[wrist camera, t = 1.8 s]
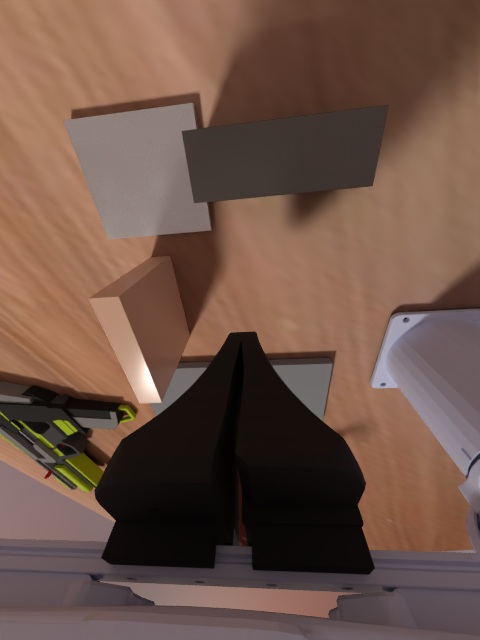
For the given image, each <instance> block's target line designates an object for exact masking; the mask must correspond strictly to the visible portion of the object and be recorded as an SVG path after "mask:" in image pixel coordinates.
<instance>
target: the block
mask: <svg viewBox="0 0 480 640" xmlns="http://www.w3.org/2000/svg"><path fill="white" fill-rule="evenodd" d="M89 301H90V303H91V305H92V307H93V309H94V311H95V313H96V315H97V317H98V319H99V321H100V323H101V325H102V327H103V329H104V331H105V333H106V335H107V337H108V339H109V341H110V344H111V346H112V348H113V350H114V352H115V354H116V356H117V358H118V360H119V362H120V364H121V366H122V368H123V370H124V372H125V374H126V376H127V378H128V380H129V382H130V384H131V387H132V389H133V391H134V393H135V395H136V397H137V399H138V401H139V403H162V401H163V399H164V397H165V394H166V392H167V390H168V387H169V385H170V382H171V380H172V378H173V375H174V373H175V370H176V368H177V366H178V363H179V361H180V359H181V356H182V354H183V351H184V349H185V347H186V344H187V342H188V340H189V337H190V334H189V330H188V326H187V322H186V318H185V313H184V309H183V305H182V301H181V297H180V293H179V289H178V285H177V281H176V277H175V273H174V269H173V265H172V261H171V257H170V256H158V257H151V258H149V259H148V260H146V261H145V262H143V263H142V264H140V265H138V266H137V267H135V268H134V269H132V270H131V271H129V272H128V273H126V274H125V275H123V276H122V277H120V278H119V279H117V280H116V281H114V282H113V283H111V284H110V285H108V286H107V287H105V288H104V289H102V290H101V291H99V292H98V293H96V294H95V295H93V296H92V297H90V298H89Z"/></svg>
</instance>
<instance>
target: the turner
mask: <svg viewBox="0 0 480 640" xmlns="http://www.w3.org/2000/svg"><path fill="white" fill-rule="evenodd" d="M387 110H388V105H384V106H376V107H368V108H360V109H352V110H344V111H336V112H328V113H320V114H312V115H304V116H296V117H288V118H280V119H273V120H265V121H257V122H249V123H241V124H233V125H225V126H217V127H209V128H201V129H198V122H197V115H196V108H195V105H194V104H193V103H187V104H180V105H172V106H165V107H158V108H150V109H143V110H136V111H128V112H121V113H114V114H106V115H99V116H92V117H84V118H77V119H70V120H63V121H64V124H65V126H66V129H67V132H68V134H69V137H70V139H71V142H72V145H73V147H74V150H75V153H76V155H77V158H78V160H79V163H80V166H81V168H82V171H83V174H84V176H85V179H86V182H87V184H88V187H89V189H90V192H91V195H92V197H93V200H94V203H95V205H96V208H97V210H98V213H99V216H100V218H101V221H102V224H103V226H104V229H105V232H106V234H107V237H108V239H118V238H129V237H141V236H153V235H164V234H176V233H188V232H199V231H211V230H212V222H211V215H210V208H209V202H213V201H223V200H234V199H244V198H254V197H265V196H275V195H285V194H296V193H306V192H316V191H327V190H337V189H347V188H358V187H368V186H373V182H374V177H375V171H376V166H377V161H378V156H379V151H380V146H381V141H382V136H383V131H384V125H385V120H386V115H387Z"/></svg>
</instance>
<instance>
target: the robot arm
mask: <svg viewBox="0 0 480 640" xmlns="http://www.w3.org/2000/svg"><path fill="white" fill-rule="evenodd" d="M406 317H407V318H406ZM404 318H406V319H405V320H403V319H404ZM370 384H371V386H372V387H373V388H399V389H400V390H401V391H402V393H403V394H404V395H405V397H406V398H407V399H408V401H409V402H410V403H411V405H412V406H413V407H414V409H415V410H416V411H417V413H418V414H419V415H420V417H421V418H422V420H423V421H424V422H425V424H426V425H427V426H428V428H429V429H430V430H431V432H432V433H433V434H434V436H435V437H436V438H437V440H438V441H439V442H440V444H441V445H442V446H443V448H444V449H445V450H446V452H447V453H448V454H449V456H450V457H451V458H452V460H453V461H454V462H455V464H456V465H457V466H458V468H459V469H460V470H461V472H462V473H463V474H464V476H465V477H466V478H467V480H466V481H465V482H464V483H462V484H461V485H459V486H458V488H459V489H460V491H461V492H462V494H463V495H464V497H465V498H466V499H467V501H468V502H469V504H470V505H471V507H470V509H469V510H468V512H467V515H466V527H467V531H468V535H469V538H470V541H471V544H472V546H473V549H474V551H475V553H456V552H455V553H454V552H423V551H390V550H369V548H368V545H367V542H366V539H365V536H364V533H363V530H362V526H363V520H362V517H361V514H360V511H359V508H358V503H359V501H360V499H361V496H362V494H363V492H364V490H365V485H366V482H365V480H364V477H363V474H362V471H361V469H360V467H359V465H358V463H357V461H356V459H355V457H354V455H353V453H352V451H351V450H350V448H349V446H348V445H347V443H346V441H345V440H344V438H343V437H341V436H340V435H339V434H338V433H336V432H335V431H334V430H333V429H331V428H330V427H329V426H328V425H326V424H325V423H324V422H323V421H322V420H321V419H319V418H318V417H317V416H316V415H315V414H314V413H313V412H312V411H311V410H310V409H308V408H307V407H306V405H305V404H304V403H303V402H302V401H301V400H300V399H299V398H298V397H297V396H296V395H295V394H294V393H293V392H292V391H291V390H290V389H289V388H288V386H287V385H286V384H285V383H284V381H283V380H282V379H281V378H280V376H279V375H278V374H277V372H276V371H275V369H274V368H273V366H272V365H271V363H270V362H269V360H268V358H267V357H266V355H265V353H264V351H263V349H262V347H261V345H260V343H259V340H258V337H257V333H256V332H236V333H230V334H229V335H228V337H227V339H226V341H225V343H224V344H223V346H222V347H221V349H220V351H219V352H218V353H217V355H216V356H215V358H214V359H213V361H212V362H211V363H210V365H209V366H208V367H207V368H206V370H205V371H204V372H203V373H202V375H201V376H200V377H199V378H198V379H197V380H196V381H195V382H194V383H193V384H192V386H191V387H190V388H189V389H187V390H186V391H185V392H184V393H183V394H182V395H181V396H180V397H179V398H178V399H177V400H176V401H175V402H173V403H172V404H171V405H170V406H169V407H167V408H166V409H165V410H164V411H162V412H161V413H160V414H159V415H157V416H156V417H155V418H153V419H152V420H150V421H149V422H148V423H146V424H145V425H143V426H142V427H140V428H139V429H137V430H136V431H134V432H133V433H131V434H130V435H128V436H127V437H125V438H124V439H122V441H121V442H120V444H119V446H118V447H117V449H116V450H115V452H114V454H113V456H112V457H111V459H110V461H109V463H108V465H107V467H106V469H105V471H104V473H103V475H102V477H101V479H100V481H99V483H98V485H97V487H96V488H95V497H96V500H97V501H98V503H99V504H100V505H101V506H102V507H103V508H104V509H105V510H106V511H107V512H108V513H109V514H110V515H111V516H112V517H113V518H114V519H115V520H116V522H115V525H114V527H113V529H112V532H111V534H110V537H109V539H108V542H96V541H95V542H93V541H62V540H31V539H30V540H29V539H28V540H27V539H0V640H480V309H461V310H441V311H421V312H400V313H395V314H393V315H392V316H391V318H390V321H389V324H388V327H387V330H386V333H385V337H384V340H383V343H382V346H381V349H380V352H379V356H378V359H377V362H376V365H375V368H374V372H373V375H372V378H371V381H370ZM240 482H241V488H242V524H244V529H245V533H246V538H247V543H248V546H239V484H240ZM100 581H114V582H115V581H117V582H136V583H158V584H180V585H201V586H223V587H225V586H226V587H245V588H246V587H247V588H268V589H290V590H311V591H332V592H354V593H355V592H356V593H362V594H352V595H342V596H338V599H337V605H338V607H336V608H334V609H332V610H330V612H329V614H328V615H329V618H321V617H312V616H303V615H295V614H285V613H275V612H265V611H253V610H240V609H227V608H210V607H191V606H158V605H157V606H156V605H155V603H154V602H153V601H150V600H147V599H145V598H142V597H140V596H138V595H137V594H135V593H133V591H132V590H131V589H130V587H126V586H119V585H113V584H108V583H102V582H100Z"/></svg>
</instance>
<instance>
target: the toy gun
mask: <svg viewBox="0 0 480 640" xmlns="http://www.w3.org/2000/svg"><path fill="white" fill-rule="evenodd" d="M123 410H125V411H126V412H127V413H128V414H129V416H128V417H124V418H122V417H123V416H124V413H123ZM135 417H136V414H135V412H134V411H133V410H132V409H131V407H130V406H127V405H121V403H112V402H102V401H92V400H82V399H73V398H72V397H68V396H67V395H63V396H60V395H58V394H57V393H55V392H53V391H50V390H48V389H43V388H41V387H37V386H31V387H30V386H25V385H20V384H14V383H9V382H2V381H0V435H1V436H2V437H3V439H5V440H7V441H9V443H11V444H13V445H14V446H15V447H17V448H18V449H19V450H20V451H22V452H23V453H24V454H25V455H27V456H29V457H30V458H32V459H33V460H34V461H36V462H37V463H38V464H39V465H41V466H42V467H43V468H44V469H46V470H47V471H48V473H47V475H46V476H45V479H47V478H48V477H49V476H50V475H51V474H52V475H53V476H55V477H54V478H55V479H56V480H58V481H59V482H60V483H62V484H63V485H64V486H65V487H67V488H70V489H71V490H75V489H76V488H77V486H78V487H79V488H80V489H82V490H83V491H87V492H90V491H91V490H92V489H93V487H95V488H96V487H97V485H98V483H99V481H100V479H101V477H102V475H103V473H104V472H103V471H102V470H101V469H100V468H99V467H98V466H97V465H96V464H95V463H94V462H93V461H92V460H91V459H89V458H88V457H87V456H86V455H85V454H84V453H83V451H84V449H85V448H86V446H87V445H88V443H89V441H88V440H87V439H86V438H85V437H84V436H83V435H81V434H79V433H77V432H79V431H80V432H81V433H82V434H84V435H85V434H86V433H87V432H88V430H89V429H90V428H100V429H115V428H117V426H118V425H119V423H123V422H127V421H131V420H134V419H135ZM49 473H50V474H49Z"/></svg>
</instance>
